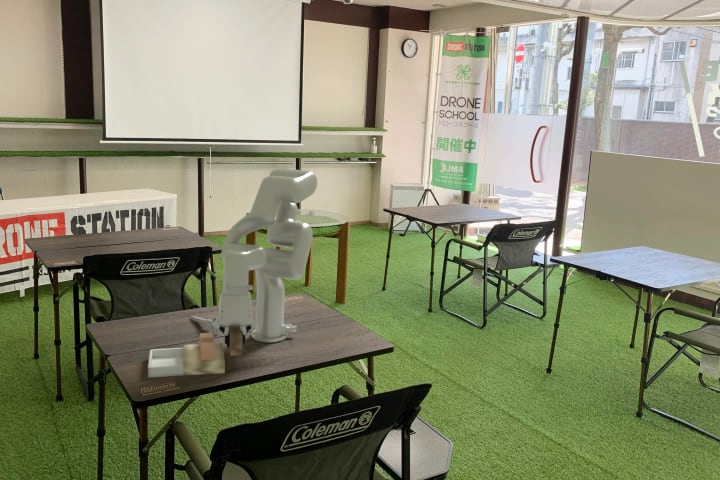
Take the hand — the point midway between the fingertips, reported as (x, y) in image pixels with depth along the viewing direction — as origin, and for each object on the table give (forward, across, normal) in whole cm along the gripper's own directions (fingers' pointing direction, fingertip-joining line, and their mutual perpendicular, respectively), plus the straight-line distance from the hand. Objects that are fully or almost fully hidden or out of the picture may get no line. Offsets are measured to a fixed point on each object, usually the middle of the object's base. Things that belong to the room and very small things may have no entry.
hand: (234, 345), depth 196 cm
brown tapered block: (+1, 0, 0) cm, 1 cm away
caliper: (+6, +9, -33) cm, 35 cm away
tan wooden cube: (+2, +8, +4) cm, 9 cm away
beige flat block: (+6, +9, 0) cm, 11 cm away
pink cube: (+2, +8, -4) cm, 10 cm away
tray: (+6, +20, 0) cm, 21 cm away
